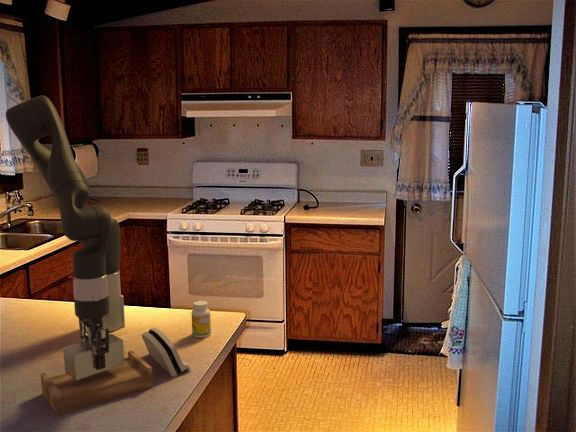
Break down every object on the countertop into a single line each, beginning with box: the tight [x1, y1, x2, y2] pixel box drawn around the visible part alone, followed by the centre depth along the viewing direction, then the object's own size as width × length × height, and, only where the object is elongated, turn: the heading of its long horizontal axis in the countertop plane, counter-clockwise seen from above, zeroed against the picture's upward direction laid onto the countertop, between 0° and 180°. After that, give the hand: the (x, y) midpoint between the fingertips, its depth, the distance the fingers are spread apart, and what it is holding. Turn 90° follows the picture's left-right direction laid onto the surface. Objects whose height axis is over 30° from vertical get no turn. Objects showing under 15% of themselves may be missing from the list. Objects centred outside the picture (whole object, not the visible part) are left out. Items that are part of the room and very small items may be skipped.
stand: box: [40, 350, 154, 416], centre depth 143 cm, size 12×22×5 cm, turn 126°
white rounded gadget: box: [141, 327, 192, 377], centre depth 157 cm, size 17×5×10 cm, turn 33°
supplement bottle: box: [191, 300, 212, 339], centre depth 176 cm, size 5×5×10 cm
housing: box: [63, 333, 125, 380], centre depth 142 cm, size 6×12×6 cm, turn 134°
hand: (95, 363), depth 142 cm, fingers closed on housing, 6 cm apart
